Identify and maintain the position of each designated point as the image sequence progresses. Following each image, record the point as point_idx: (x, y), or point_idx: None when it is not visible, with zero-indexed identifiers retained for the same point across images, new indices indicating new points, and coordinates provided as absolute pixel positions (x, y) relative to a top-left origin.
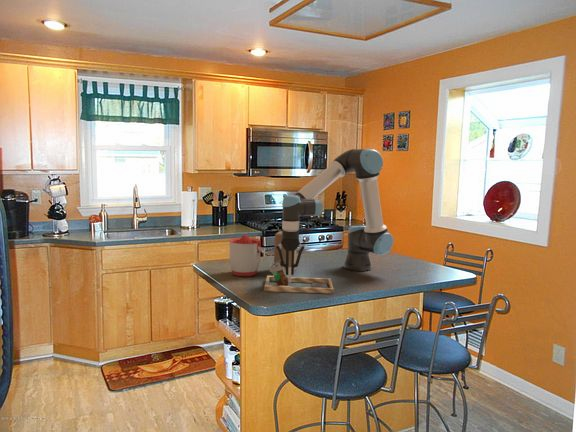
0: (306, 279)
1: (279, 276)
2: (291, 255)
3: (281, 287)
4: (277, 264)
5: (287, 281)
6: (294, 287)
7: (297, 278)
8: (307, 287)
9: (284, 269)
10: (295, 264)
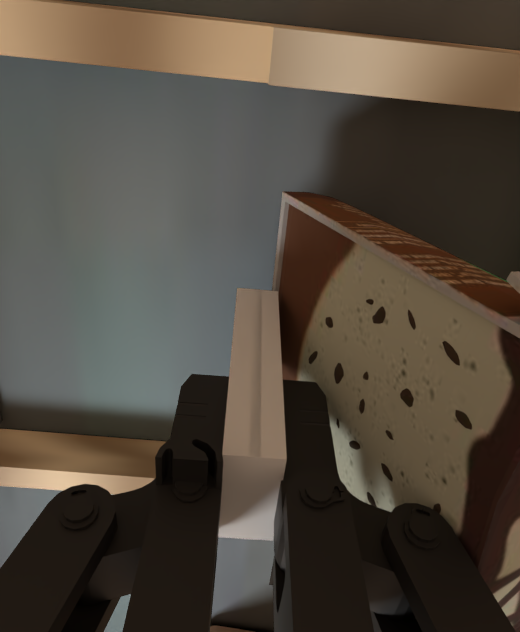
0: (47, 458)
1: (474, 265)
2: None
3: (425, 43)
4: (501, 606)
5: (289, 298)
6: (187, 23)
7: (149, 473)
8: None
9: None
10: (101, 545)
